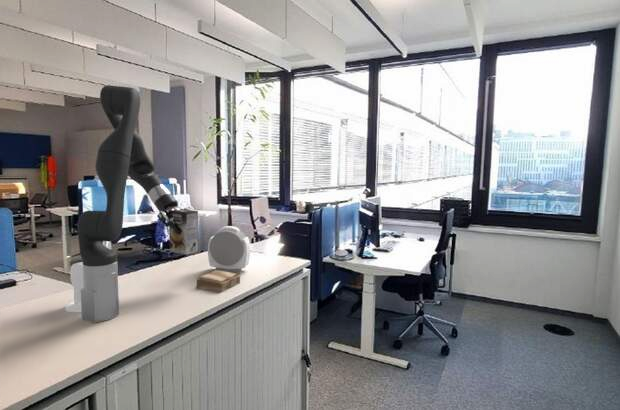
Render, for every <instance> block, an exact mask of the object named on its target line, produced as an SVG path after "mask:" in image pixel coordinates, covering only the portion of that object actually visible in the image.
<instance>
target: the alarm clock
mask: <svg viewBox="0 0 620 410" xmlns="http://www.w3.org/2000/svg"><path fill="white" fill-rule="evenodd" d="M250 255H251V241H250V239H249V236H246V234H245V233H244V232H243V231H242V230H240V228H238V227H237V226H232V225H228V226H227V225H226V226H223V227H221V228H219V229H218V231H217V232H216V233H215V234H214V235H213V236H211V237H210V238H209V240H208V244H207V258H208V262H209V263H208V264H209V267H213V268H215V270H219V271H225V272H231V273H236V274H239V273H240V272H241V271H242V270H243V269H245V268H247V267H248V265H249V262H250Z"/></svg>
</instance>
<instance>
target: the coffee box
mask: <svg viewBox="0 0 620 410" xmlns="http://www.w3.org/2000/svg"><path fill="white" fill-rule="evenodd" d="M169 212H170V214H171V216H170V218H169V220H170V219H171V218H172V215H173V216H174V220H175V221H176V224H177V225H178V226H179V227H180V229H181V230H182V232H181V234H179V235H177V234H176V233H175V231H174V230H173V229H172V228H171V227H169V226H168V228H169V229H168V232H169V233H168V234H169V235H168V236H169V237H168V239H169V240H168V241H169V243H168V245H169V252H173V253H176V254H182V255H186V256H187V255H189V254H193V253H197V252H198V246H199V244H198V243H199V242H198V241H199V240H198V239H199V238H198V236H199V229H198V228H199V227H198V226H199V211H198V210H194V209H192V210H191V209H187V210H186V209H184V208H180V209H174V210H169Z"/></svg>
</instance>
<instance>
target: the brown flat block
mask: <svg viewBox="0 0 620 410" xmlns="http://www.w3.org/2000/svg"><path fill="white" fill-rule="evenodd" d="M238 283H239V284H240V283H241V276H240V275H238V273H234V272H225V271H219V270H216V269H215V270H212V271H211V272H208V273H205V274H202V275H201V276H199V278H198V279H196V288H199V289H205V290H210V291H215V292H219V293H223V292H225V291H226V290H228V289H231V288H233V287H235V286H236V284H237V285H239V284H238Z"/></svg>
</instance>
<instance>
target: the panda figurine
mask: <svg viewBox="0 0 620 410" xmlns="http://www.w3.org/2000/svg"><path fill="white" fill-rule="evenodd" d="M69 265H70V266H71V267H70V273H69V275H70V277H69V278H70V281H71V284H72V286H73V301H71V302H69V303H68V304H66V306H65V307H64V310H65V311H66V312H67V313H76V314H77V313H82V308H81V289H83V288H84V280H83V260H82V258H78V259H74V260H73V259H72V260H70V262H69Z"/></svg>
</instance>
